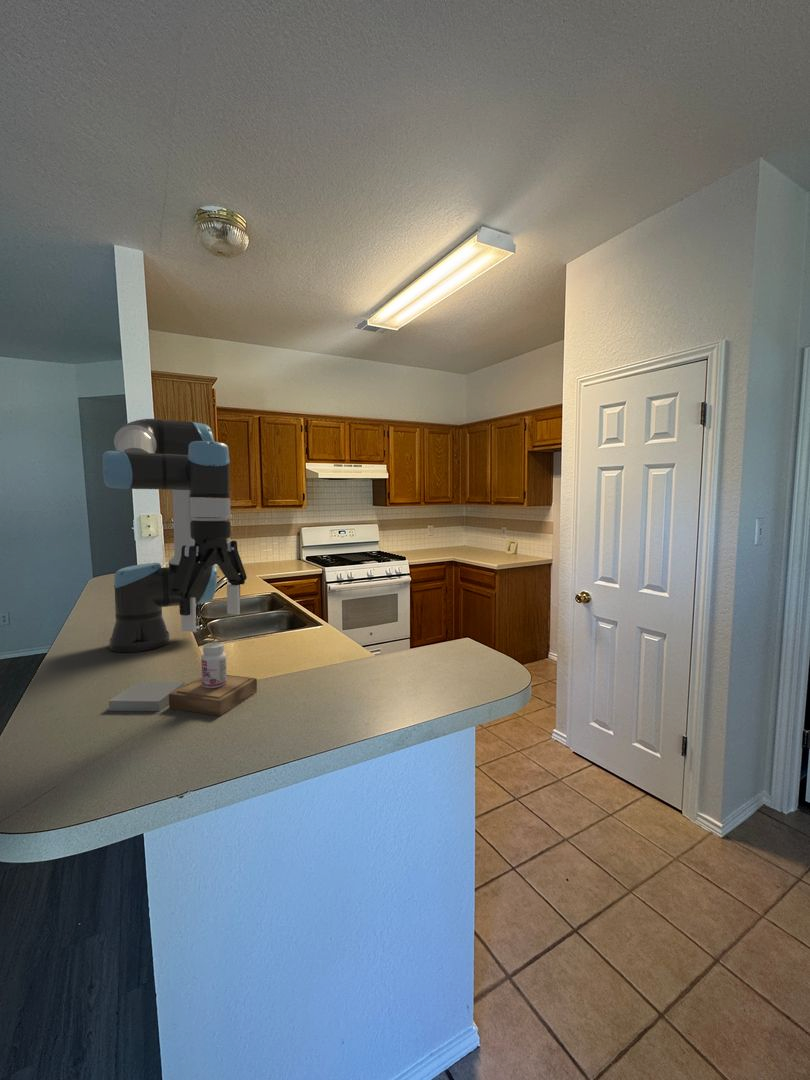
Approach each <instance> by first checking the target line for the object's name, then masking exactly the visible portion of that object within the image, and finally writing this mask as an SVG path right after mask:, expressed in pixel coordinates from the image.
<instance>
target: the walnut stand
mask: <svg viewBox="0 0 810 1080" xmlns="http://www.w3.org/2000/svg"><path fill="white" fill-rule="evenodd" d="M256 691H257V692H258V680H257V677H256V678H255V677H249V676H239V675H230V674H227V682H226V684H225V685H223V686H221V687H218V688H205V687H203V686H202V676H201V677H199V678H197V679H195V680H193V681H191V682H189V683H187V684H185V686H183V687H181V688H179V689H177V690H175V691H173V692H171V693H169V704H168V708H169V709H170V710H177V709H178V711H183V710H184V711H185V712H190V711H192V713H197V712H198V714H204V715H210V716H211V715H212V716H216V717H217V716H218V717H222V716H223V715H225V714H226V713H227V712H229V711H231V710H232V709H234V708H236V707H237V706H238V705H239V703H240V704H241V703H243V702H244V701H246V700H247V699H248V697H249V698H250V697H251V695H252V694H253V693H255V692H256ZM257 692H256V693H257ZM256 693H255V694H256ZM253 695H254V694H253ZM253 695H252V696H253ZM245 699H246V700H245ZM242 701H243V702H242Z"/></svg>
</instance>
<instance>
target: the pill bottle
mask: <svg viewBox="0 0 810 1080" xmlns="http://www.w3.org/2000/svg"><path fill="white" fill-rule="evenodd" d="M202 652H203V654H202V655H201V677H202V686H203V687H205V688H218V687H221V686H223V685H225V684H226V682H227V675H228V674H227V654H226V652H225V643H223V642H219V641H215V642H214V641H213V642H208V643H205V644H203V646H202Z"/></svg>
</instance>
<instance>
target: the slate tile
mask: <svg viewBox="0 0 810 1080" xmlns="http://www.w3.org/2000/svg"><path fill="white" fill-rule="evenodd" d="M185 685H186V684H185V681H140V680H139V681H137V682H136V683H134V684H133V685H130V687H128V688H126V689H125V690H123V691H121V692H120V693H119V694H117V695H115V696H114V697H113V698H111V699H109V700H108V710H109V712H111V711H112V712H119V711H120V712H126V711H127V712H161V711H162V710H163V709H164V708H166V707H167V706H169V693H171V692H173V691H175V690H177V689H179V688H181V687H183V686H185Z"/></svg>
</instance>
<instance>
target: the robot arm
mask: <svg viewBox="0 0 810 1080" xmlns="http://www.w3.org/2000/svg"><path fill="white" fill-rule="evenodd" d="M113 444H114V448H115V450H107V451H105V452H104V453H103V455H102V471H103V472H102V473H103V482H104V485H105V486H106V487H107V488H110V489H122V490H168V491H169V490H172V505H173V506H172V507H173V508H172V509H173V510H172V511H173V547H174V549H173V551H174V552H173V553H174V554H173V556H172V557H171V558H170V559H169V561H168V566H167V567H162V565H161V563H160V562H151V563H150V562H148V563H147V562H146V563H141V564H136V565H131V566H126V567H123V568H119V569H118V570H117V571H116V572H115V573H114V579H113V581H114V583H113V584H114V585H113V589H114V607H115V608H114V609H115V623H114V626H113V629H112V633H111V637H110V638H109V642H108V644H109V645H108V647H109V650H110V651H111V652H116V653H136V652H137V653H138V652H139V653H140V652H144V651H150V650H154V649H158V648H161V647H164V646H166V645H167V644H169V643H170V641H171V640H170V632H169V631H168V630H167V626H166V622H165V620H164V618H163V608H168V607H178V606H179V609H178V610H179V615H180V617H181V622H180V623H181V631H182V632H190V633H195V632H197V613H196V612H197V610H196V609H197V605H199V604H200V605H201V604H206V603H207V604H208V603H210V602H211V601H212V600H213V599H214V597H215V594H216V590H217V582H218V568H219V569H220V571H221V572H222V574H223V575H224V577H225V578H226V580H227V581H228V583H229V584H226V611H227V612H226V614H227V615H235V616H239V615H241V608H240V607H241V602H240V601H241V599H240V598H241V585H243V586H244V585H245V583H246V580H247V578H248V576H247V573H246V570H245V568H244V565H243V561H242V559H241V555H240V553H239V550H238V548H239V547H238V542H237V540H228V539H230V538H231V536H232V535H231V532H232V531H231V529H232V528H231V521H230V520H228V518H231V517H232V515H231V514H232V513H231V497H230V495H231V494H230V463H231V458H230V453H229V446H228V445H227V444H226V443H223V442H219V441H215V440H214V434H213V432H212V429H211V427H210V426H209V425H208V424H205V423H201V422H195V421H183V420H171V419H170V420H169V419H159V418H158V419H157V418H143V419H137V420H133V421H131V422H127V423H126V424H124V425H122V426H121V427H119V428H118V430H117V431H116V433H115V434H114V437H113ZM217 566H218V567H217Z"/></svg>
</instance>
